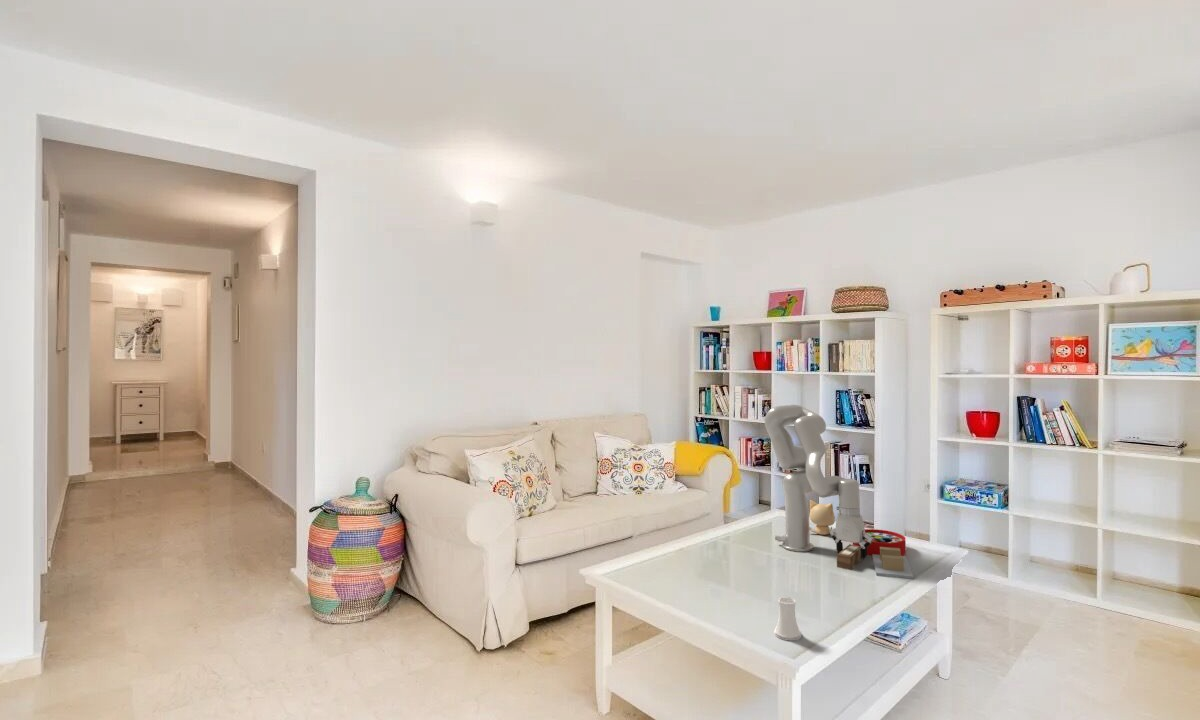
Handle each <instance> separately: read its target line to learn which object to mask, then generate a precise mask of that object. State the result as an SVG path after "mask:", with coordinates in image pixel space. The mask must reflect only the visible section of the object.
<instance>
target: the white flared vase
mask: <svg viewBox="0 0 1200 720" xmlns="http://www.w3.org/2000/svg"><path fill="white" fill-rule="evenodd" d="M796 602H797V601H796V599H794V598H792V597H786V596H785V597H784V596H783V597H779V598H778V621H777V623H776V627H775V628H774V629H773V634H774V636H776V638H777V639H778V638H779V639H780V640H784V641H797V640H799V639H801V638H802V631H801V630H800V629H799V626H798V622H797V617H796V604H797V603H796Z"/></svg>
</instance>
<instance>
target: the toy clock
mask: <svg viewBox="0 0 1200 720" xmlns="http://www.w3.org/2000/svg"><path fill="white" fill-rule="evenodd" d="M865 532H866V533H867V534H868V535H870V536H871V537H873V541H872V543H871V545H870V546H868V547H867V556H871V557H872V554H876V555H880V547H888V548H900V551H901V556H905V555H906V553H907V552H906V551H907V549H906V548H907V547H906V537H905V536H904V535H903V534H901V533H897V532H895V531H889V530H885V529H876V528H875V529H872V528H870V529H869V528H865ZM867 541H868V539H867V538H865V542H866V543H867ZM852 545H857V546H860V544H859V543H852Z"/></svg>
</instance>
